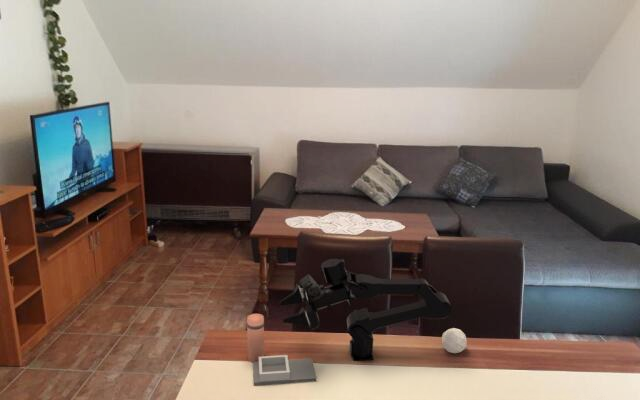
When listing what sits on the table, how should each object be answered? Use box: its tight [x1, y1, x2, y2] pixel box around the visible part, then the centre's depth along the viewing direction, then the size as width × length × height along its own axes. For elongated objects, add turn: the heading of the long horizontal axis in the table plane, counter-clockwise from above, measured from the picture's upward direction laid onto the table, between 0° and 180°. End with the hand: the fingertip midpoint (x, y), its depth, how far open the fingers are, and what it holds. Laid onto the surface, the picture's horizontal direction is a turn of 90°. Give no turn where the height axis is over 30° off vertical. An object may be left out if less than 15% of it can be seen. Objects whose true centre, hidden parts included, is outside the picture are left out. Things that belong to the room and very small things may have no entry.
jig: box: [252, 354, 317, 387], centre depth 149 cm, size 18×10×4 cm, turn 98°
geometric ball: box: [441, 327, 468, 354], centre depth 162 cm, size 8×8×8 cm
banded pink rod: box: [246, 313, 265, 363], centre depth 155 cm, size 5×5×14 cm
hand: (281, 311), depth 152 cm, fingers open, 9 cm apart
